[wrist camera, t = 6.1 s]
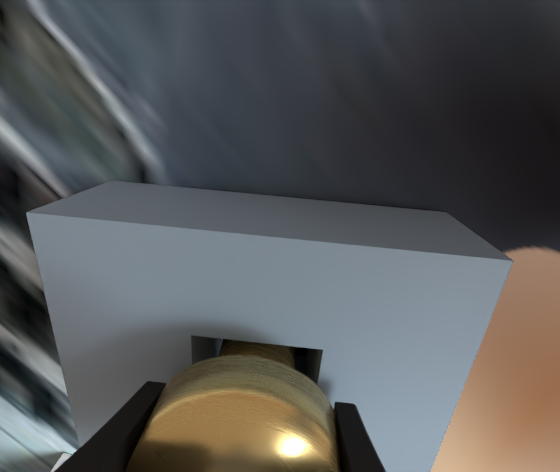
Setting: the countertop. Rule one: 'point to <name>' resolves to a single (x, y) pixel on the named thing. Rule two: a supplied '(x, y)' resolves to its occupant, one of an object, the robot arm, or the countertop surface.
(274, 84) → the countertop surface
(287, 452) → the brass door knob
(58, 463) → the light bulb box
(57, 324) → the block
